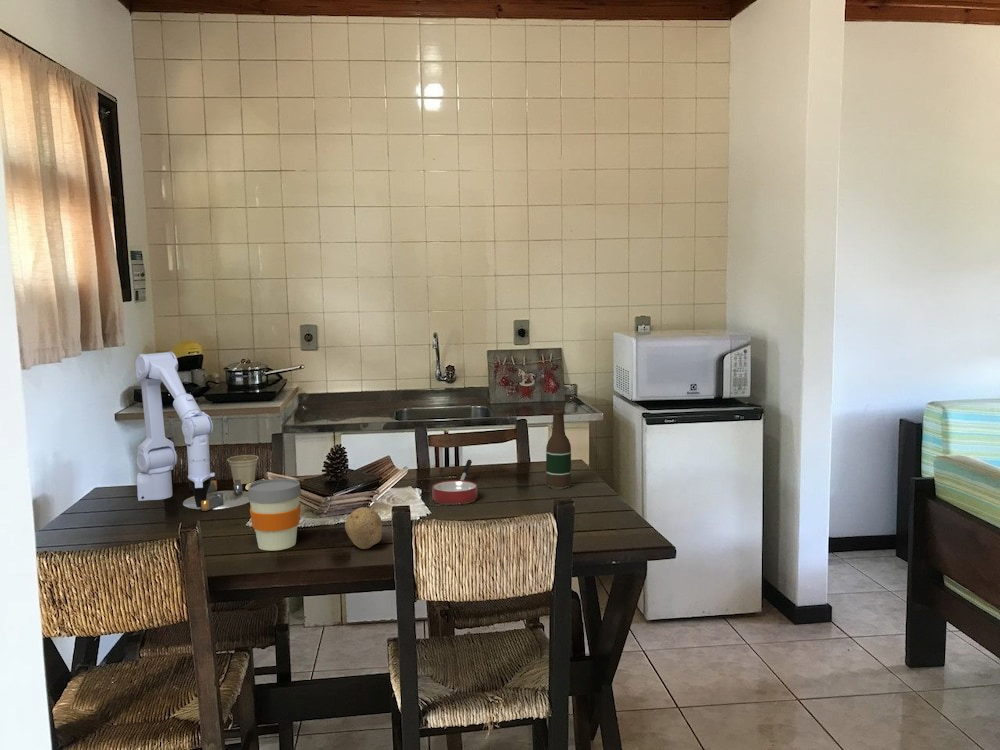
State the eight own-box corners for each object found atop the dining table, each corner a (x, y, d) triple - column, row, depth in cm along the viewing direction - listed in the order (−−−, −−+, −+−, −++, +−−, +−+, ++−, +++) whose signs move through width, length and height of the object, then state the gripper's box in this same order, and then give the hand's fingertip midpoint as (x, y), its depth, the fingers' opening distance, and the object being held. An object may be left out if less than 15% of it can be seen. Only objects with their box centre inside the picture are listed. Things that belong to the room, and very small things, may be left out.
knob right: (242, 494, 245) (242, 484, 244) (234, 495, 244) (233, 485, 244) (242, 488, 253) (241, 478, 252) (234, 488, 252) (233, 479, 252)
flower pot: (254, 488, 258) (253, 461, 256) (224, 489, 258) (222, 461, 257) (263, 481, 267) (262, 454, 266) (234, 481, 267) (233, 455, 266)
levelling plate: (180, 516, 229) (180, 507, 229) (185, 498, 248) (184, 490, 247) (256, 509, 235) (256, 501, 234) (255, 491, 254) (254, 484, 253)
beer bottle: (554, 482, 261) (554, 406, 258) (576, 485, 256) (576, 408, 253) (541, 487, 254) (540, 409, 251) (563, 491, 250) (562, 412, 247)
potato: (349, 542, 205) (348, 502, 204) (385, 541, 205) (384, 502, 204) (343, 554, 196) (341, 513, 194) (381, 553, 196) (379, 512, 195)
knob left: (203, 497, 243) (202, 487, 243) (195, 496, 243) (195, 486, 243) (218, 489, 251) (218, 480, 251) (211, 489, 252) (211, 479, 251)
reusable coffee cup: (299, 551, 198) (296, 490, 196) (245, 554, 197) (241, 492, 195) (306, 535, 210) (304, 477, 209) (256, 537, 210) (253, 479, 208)
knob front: (218, 502, 237) (217, 492, 237) (225, 503, 236) (224, 492, 236) (199, 510, 229) (198, 499, 229) (206, 511, 228) (206, 500, 228)
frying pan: (441, 478, 267) (441, 459, 266) (482, 478, 267) (482, 459, 266) (429, 506, 235) (429, 484, 235) (475, 506, 235) (475, 484, 234)
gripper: (213, 463, 224) (215, 512, 226) (214, 452, 238) (216, 498, 240) (185, 465, 222) (188, 515, 224) (188, 453, 236) (190, 500, 237)
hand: (201, 506), depth 232 cm, fingers closed, pressing on knob front
